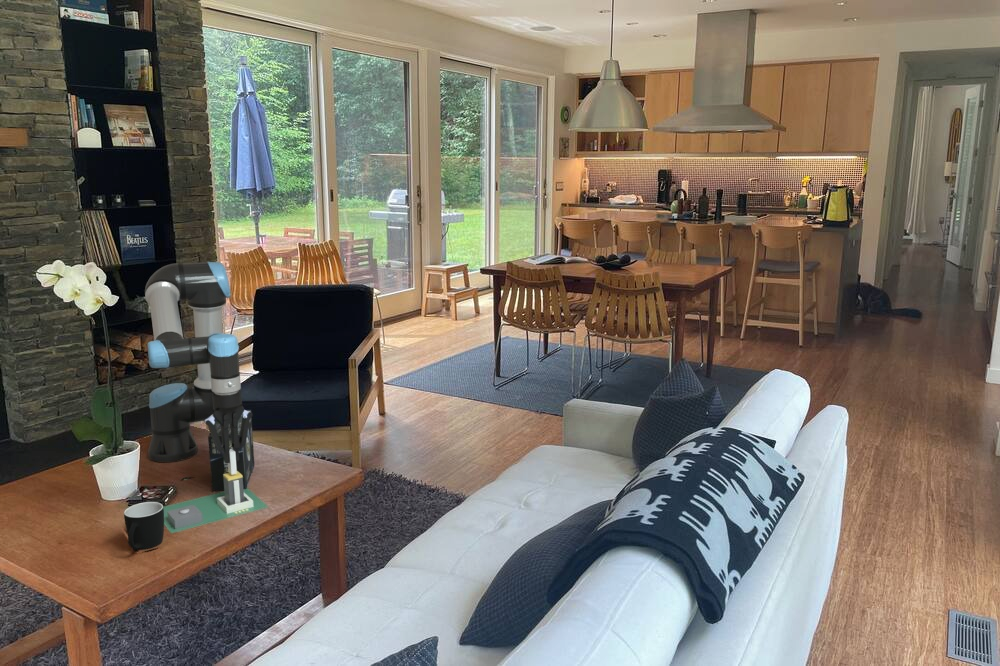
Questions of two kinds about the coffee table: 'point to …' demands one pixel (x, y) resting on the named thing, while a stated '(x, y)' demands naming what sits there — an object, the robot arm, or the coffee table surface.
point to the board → (207, 510)
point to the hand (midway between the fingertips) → (232, 472)
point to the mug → (144, 525)
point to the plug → (233, 488)
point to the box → (243, 465)
